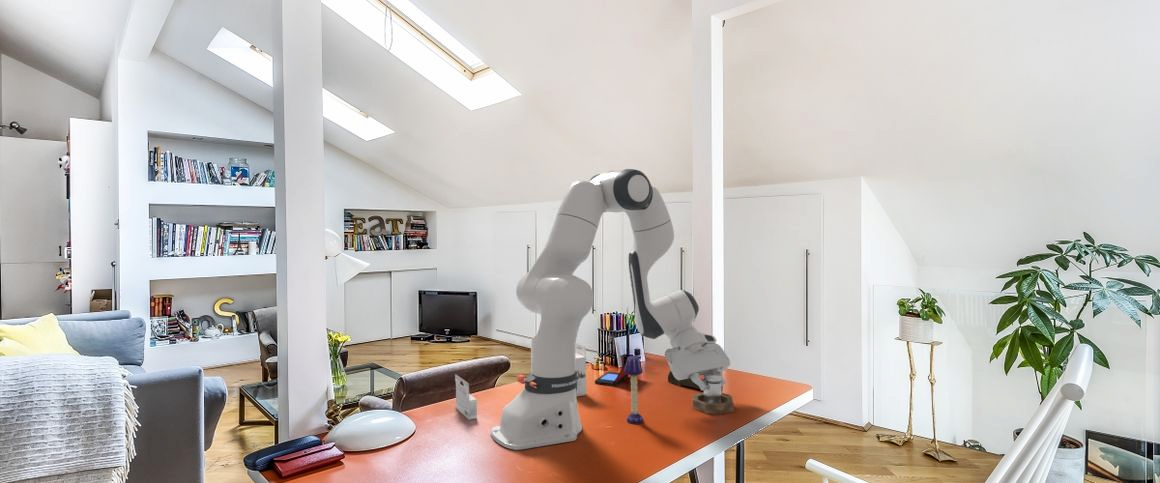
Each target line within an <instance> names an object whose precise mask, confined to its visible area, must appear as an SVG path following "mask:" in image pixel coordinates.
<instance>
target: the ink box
mask: <svg viewBox="0 0 1160 483" xmlns="http://www.w3.org/2000/svg"><path fill="white" fill-rule="evenodd" d="M586 355H587V350H586V346H585V345H583V344H580V343H579V342H576V354H575V371H576V372H577V391H576V398H578V397H581V396H586V395H587V358H586Z"/></svg>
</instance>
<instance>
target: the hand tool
mask: <svg viewBox="0 0 1160 483" xmlns="http://www.w3.org/2000/svg"><path fill="white" fill-rule="evenodd" d="M700 379H701V380H702V381H703V382H704V378H700ZM667 382H668V383H669V384H671V385H675V386H678V387H689V388H691V389H692V388H693V389H695V390H696V389H697V390H699V391H702V390H701V389H700V387H699V386H698V385H697V384H695V383H694V382H693V381H692V380H691V378H688V379H683V380H677V379H676V378H675V377H674V376H673V374H672V371H671V370H670V371H669V373H668V374H667ZM723 386H724V385H723ZM723 386H721V394H723V388H724V387H723Z"/></svg>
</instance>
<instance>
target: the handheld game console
mask: <svg viewBox="0 0 1160 483" xmlns="http://www.w3.org/2000/svg"><path fill="white" fill-rule="evenodd" d="M625 366H626V363H625V364H624V365H623V366H622V367H621V369H620V371H619V372H616V371H615V372H614V371H607V372H605V373H604V374H603V375H601V376H599V377H597V379H595V380H594V384H596V385H601V386H609V387H616V386H617V385H619V384H620V383H621V382H622V381H624V380H626V379H628V377H629V375H628V374H626V373H625Z"/></svg>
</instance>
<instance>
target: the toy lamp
mask: <svg viewBox="0 0 1160 483" xmlns="http://www.w3.org/2000/svg"><path fill="white" fill-rule="evenodd" d="M626 358H627V359H626V363H625V364H626V366H625V373H626V374H628V376H630V390H631V391H630V400H631V404H630V406H631V413H630V414H629V413H628V416H627V417H626V422H628V423H630V424H634V425H638V424H641V423H643V422H644V418H643V416H642V415H641V414H640V413H639V408H638V407H639V398H638V396H639V392H638V387H639V386H638V376H639V375H641V374H643V367H642V364H641V360H640V358H639V356H636V355H631V356H628V357H626Z"/></svg>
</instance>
